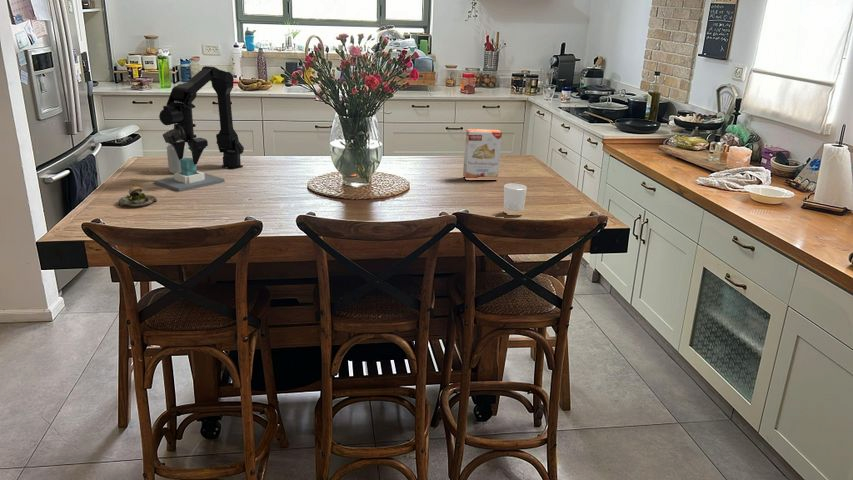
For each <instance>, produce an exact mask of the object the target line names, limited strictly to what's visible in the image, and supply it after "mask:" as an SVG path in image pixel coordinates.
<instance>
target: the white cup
mask: <svg viewBox="0 0 853 480" xmlns="http://www.w3.org/2000/svg"><path fill="white" fill-rule="evenodd" d="M503 189H504V190H503V209H504V208H505V209H507V210H511V211H520V210H523V211H524V208H525V204H526V203H525V202H526V196H527V189H528V187H527V186H526V185H524V184H523V183H522V184H519V183H506V184H504V185H503Z"/></svg>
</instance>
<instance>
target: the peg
mask: <svg viewBox="0 0 853 480" xmlns="http://www.w3.org/2000/svg"><path fill="white" fill-rule="evenodd" d="M180 163H181V174H182V175H185V176H190V175H195V174H197V171H198V169H197V164H196V165H194V163H193V158H192V157H187V158H184V159H180Z"/></svg>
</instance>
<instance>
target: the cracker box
mask: <svg viewBox="0 0 853 480" xmlns="http://www.w3.org/2000/svg"><path fill="white" fill-rule="evenodd" d="M502 135H503V134H502V131H501V130H499V129H481V128H479V129H477V128H475V129H474V128H466V129H465V141H464V142H465V144H464V155H463V157H464V158H463V170H462V171H463V172H462V177H463V176H464V177H465V178H478V177H498V178H499V166H500V157H501V149H502V148H501V147H502V146H501V145H502V137H503V136H502Z"/></svg>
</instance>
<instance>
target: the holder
mask: <svg viewBox="0 0 853 480" xmlns="http://www.w3.org/2000/svg"><path fill="white" fill-rule="evenodd" d="M225 180H226V179H225V178H223V177H221V176H216V175H212V174H209V173H206V172H202V171H198V170H197V174H195V175H190V176H185V175H182V174H181V172H176V173H174V174H173V176H170V177H164V178H160V179H159V178H158V179H154V180H153V184H155V185H158V186H161V187H164V188H166V189H170V190H173V191H176V192H179V193H180V192H183V191H184V192H185V191H188V190H193V189H194V190H195V189H199V188H202V187H207V186H212V185H216V184H221V183H222V184H223V183H225V182H226V181H225Z"/></svg>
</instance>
